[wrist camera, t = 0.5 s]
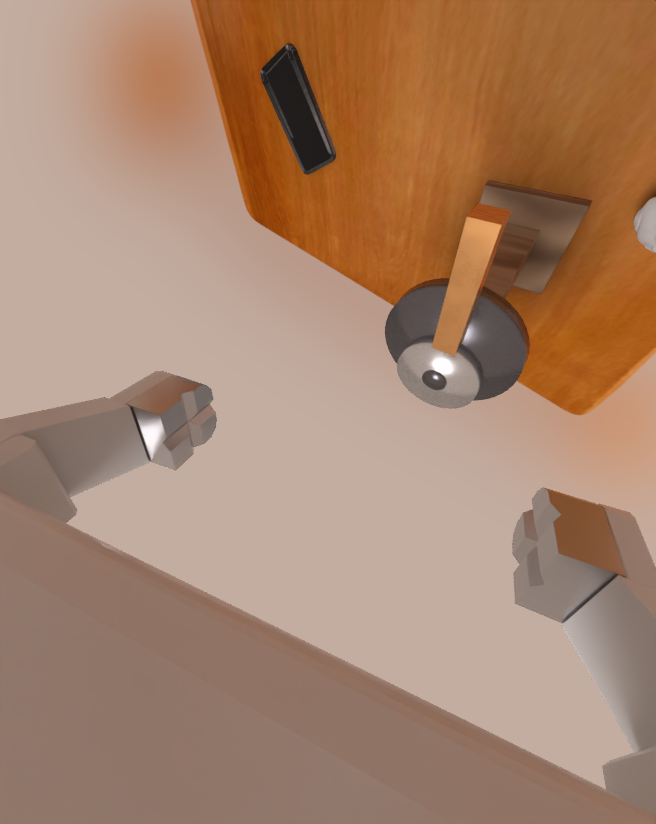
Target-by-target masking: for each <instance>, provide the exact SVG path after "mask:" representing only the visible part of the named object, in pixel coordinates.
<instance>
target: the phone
mask: <svg viewBox="0 0 656 824" xmlns="http://www.w3.org/2000/svg"><path fill="white" fill-rule="evenodd" d="M261 79H262V82H263V84H264V87H265V89H266V91H267V93H268V95H269V98H270V100H271V102H272V104H273V107H274V109H275V111H276V113H277V116H278V118H279V120H280V122H281V124H282V127H283V129H284V131H285V133H286V136H287V138H288V140H289V142H290V145H291V147H292V149H293V151H294V153H295V156H296V158H297V160H298V162H299V165H300V167H301V169H302V171H303V172H304V173H305V174H307V175H308V174H310V173H312V172H314V171H316V170H318V169H320V168H322V167H324V166H325V165H327V164H329V163H331V162H332V161H334V160H335V158H336V151H335V148H334V146H333V143H332V141H331V138H330V135H329V133H328V130H327V128H326V125H325V122H324V120H323V117H322V115H321V112H320V110H319V107H318V104H317V102H316V99H315V97H314V94H313V91H312V89H311V86H310V84H309V81H308V78H307V76H306V73H305V71H304V68H303V65H302V63H301V60H300V58H299V55H298V52H297V50H296V48H295V47H294V45H292V44H287V45H285V46H284V47H283V48H282V49H281V50H280V51H279V52H278V53H277V54H276V55H275V56H274V57H273V58H272V59H271V60H270V61H269V62H268V63H267V64H266V65H265V66H264V67H263V68H262V70H261Z"/></svg>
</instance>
